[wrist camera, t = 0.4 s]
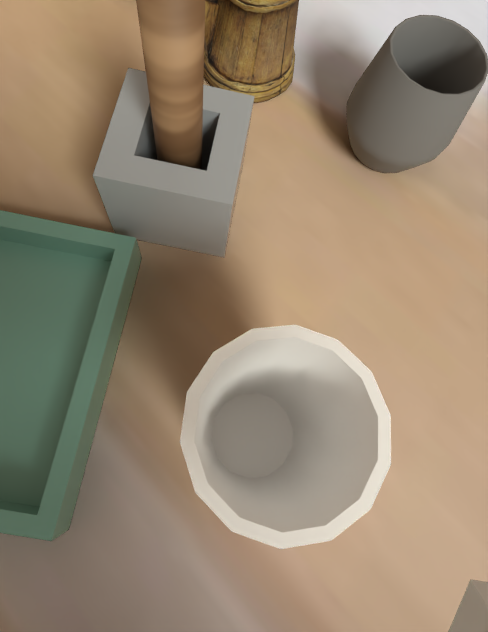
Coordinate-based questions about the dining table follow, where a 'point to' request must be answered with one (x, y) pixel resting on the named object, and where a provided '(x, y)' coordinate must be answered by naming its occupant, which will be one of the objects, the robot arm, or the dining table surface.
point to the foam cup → (286, 436)
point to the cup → (415, 93)
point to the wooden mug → (250, 46)
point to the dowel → (175, 76)
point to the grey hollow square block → (173, 172)
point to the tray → (55, 361)
